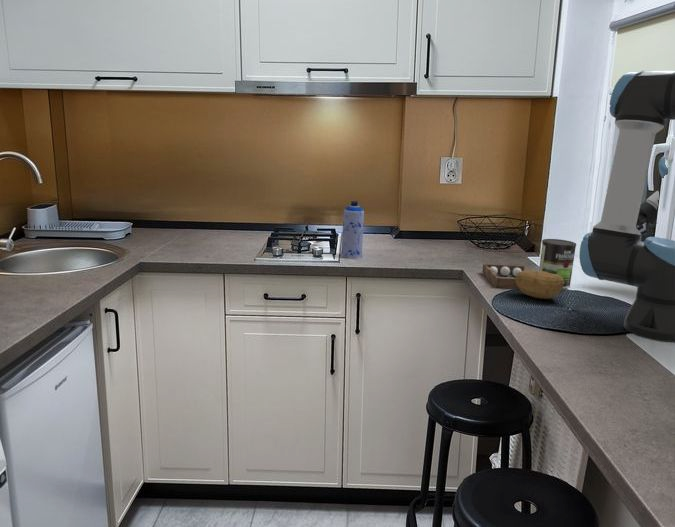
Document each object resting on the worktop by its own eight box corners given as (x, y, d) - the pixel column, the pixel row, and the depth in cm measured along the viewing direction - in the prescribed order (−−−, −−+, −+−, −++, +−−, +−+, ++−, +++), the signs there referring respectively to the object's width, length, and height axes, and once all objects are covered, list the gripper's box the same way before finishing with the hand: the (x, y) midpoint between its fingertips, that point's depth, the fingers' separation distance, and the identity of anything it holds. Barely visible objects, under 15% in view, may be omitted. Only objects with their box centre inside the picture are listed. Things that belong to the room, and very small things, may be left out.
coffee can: (577, 288, 198) (583, 245, 195) (548, 289, 196) (554, 245, 192) (557, 280, 208) (563, 238, 205) (530, 280, 205) (535, 238, 202)
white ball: (522, 277, 209) (523, 268, 208) (513, 277, 209) (514, 268, 208) (519, 275, 212) (520, 266, 211) (510, 275, 212) (511, 266, 211)
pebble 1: (498, 276, 209) (499, 267, 208) (489, 276, 209) (490, 267, 208) (496, 274, 212) (497, 265, 211) (487, 273, 212) (488, 265, 211)
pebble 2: (510, 277, 209) (511, 267, 208) (501, 276, 209) (502, 267, 208) (508, 274, 212) (509, 265, 211) (498, 274, 212) (499, 265, 211)
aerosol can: (356, 253, 233) (359, 199, 228) (365, 258, 226) (369, 203, 221) (337, 254, 230) (340, 200, 225) (346, 259, 223) (349, 203, 218)
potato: (520, 289, 194) (523, 264, 192) (566, 299, 185) (569, 273, 183) (507, 295, 186) (510, 269, 184) (554, 306, 178) (558, 279, 176)
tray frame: (540, 289, 195) (541, 280, 194) (496, 287, 194) (497, 278, 194) (522, 274, 213) (523, 265, 213) (482, 272, 213) (483, 263, 212)
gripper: (671, 221, 191) (609, 272, 195) (651, 214, 204) (593, 262, 208) (657, 203, 190) (594, 255, 194) (637, 197, 203) (579, 246, 207)
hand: (593, 258), depth 201 cm, fingers closed
